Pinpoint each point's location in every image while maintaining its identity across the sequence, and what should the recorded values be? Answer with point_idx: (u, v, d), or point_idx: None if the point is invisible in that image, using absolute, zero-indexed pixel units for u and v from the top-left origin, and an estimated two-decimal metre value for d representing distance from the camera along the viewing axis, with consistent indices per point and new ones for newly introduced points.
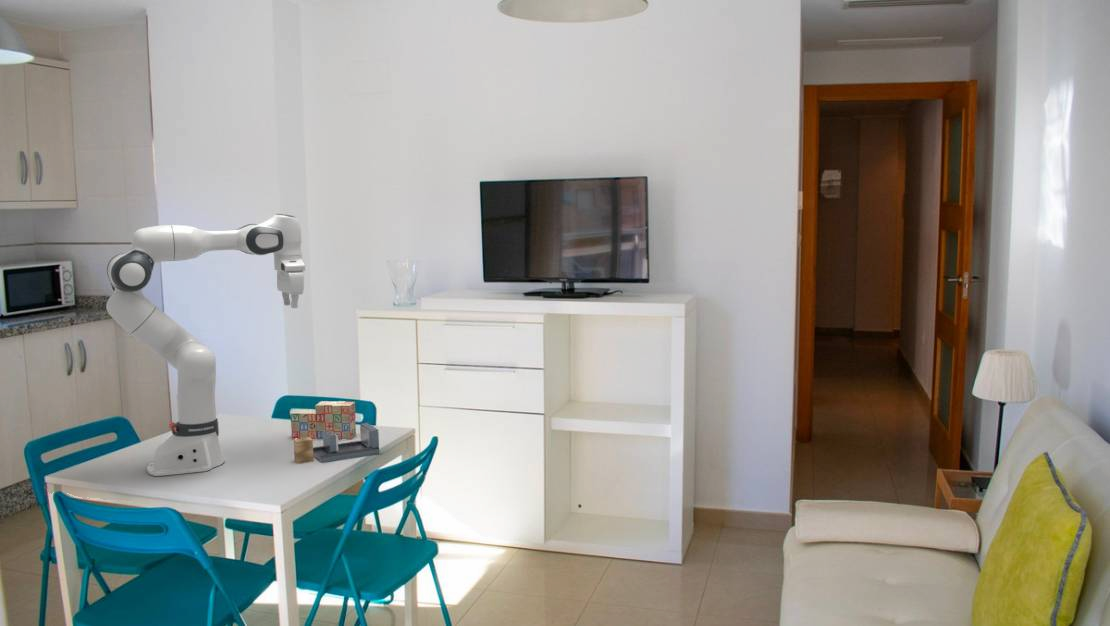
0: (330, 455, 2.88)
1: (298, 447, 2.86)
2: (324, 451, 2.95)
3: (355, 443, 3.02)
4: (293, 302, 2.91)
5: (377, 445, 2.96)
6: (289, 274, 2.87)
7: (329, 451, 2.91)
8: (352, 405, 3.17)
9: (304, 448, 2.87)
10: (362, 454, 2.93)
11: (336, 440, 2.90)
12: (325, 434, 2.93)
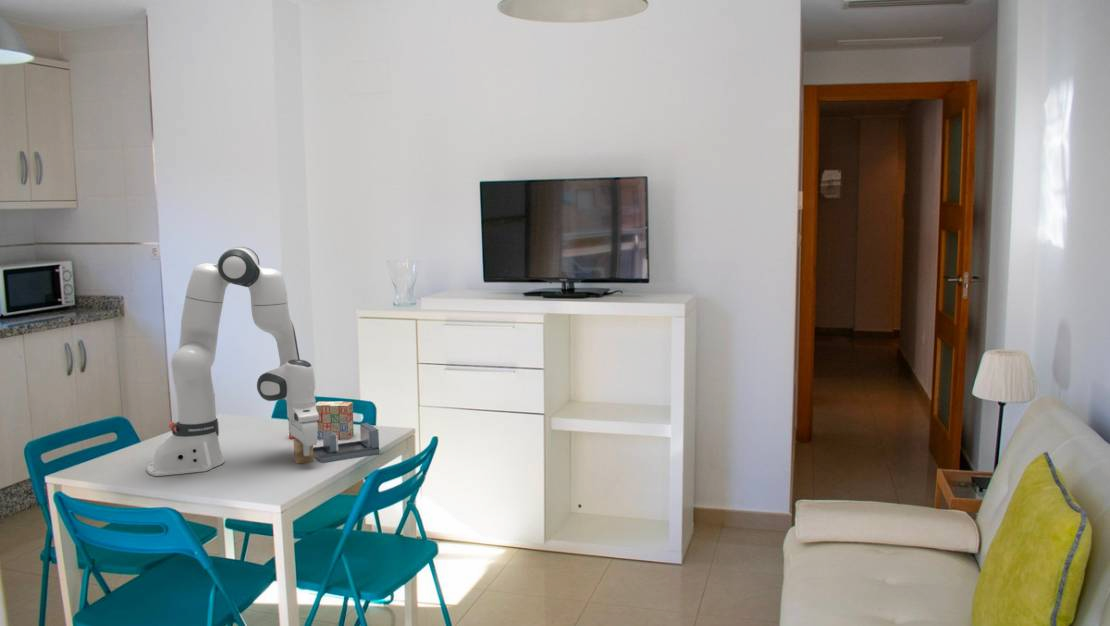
0: (330, 455, 2.88)
1: (298, 447, 2.86)
2: (324, 451, 2.95)
3: (355, 443, 3.02)
4: (305, 450, 2.86)
5: (377, 445, 2.96)
6: (303, 425, 2.79)
7: (329, 451, 2.91)
8: (350, 405, 3.17)
9: None
10: (362, 454, 2.93)
11: (336, 440, 2.90)
12: (325, 434, 2.93)
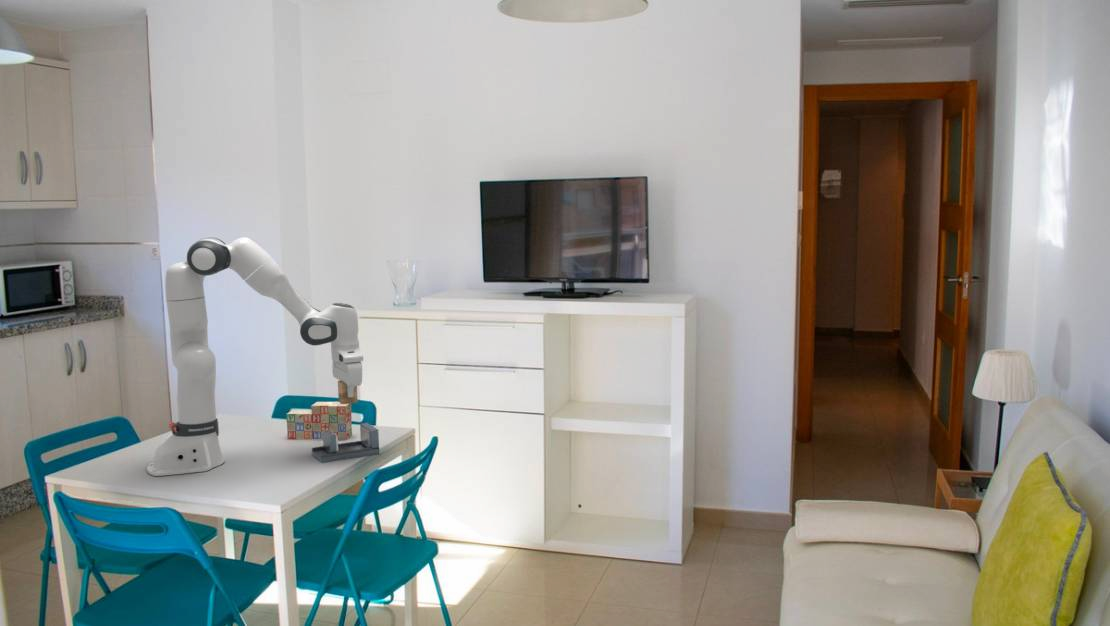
0: (330, 455, 2.88)
1: (343, 388, 2.92)
2: (324, 451, 2.95)
3: (355, 443, 3.02)
4: (349, 391, 2.91)
5: (377, 445, 2.96)
6: (348, 366, 2.85)
7: (329, 451, 2.91)
8: (348, 405, 3.16)
9: None
10: (362, 454, 2.93)
11: (336, 440, 2.90)
12: (325, 434, 2.93)
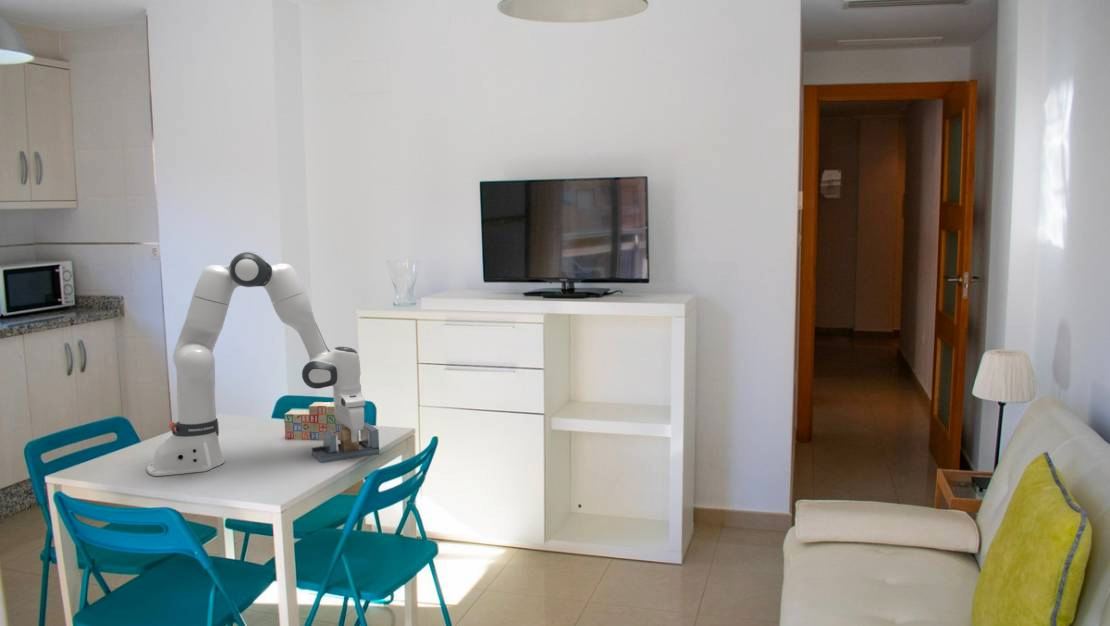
0: (330, 455, 2.88)
1: (344, 435, 2.94)
2: (324, 451, 2.95)
3: None
4: (353, 436, 2.91)
5: (377, 445, 2.96)
6: (350, 410, 2.86)
7: (329, 451, 2.91)
8: None
9: None
10: (362, 454, 2.93)
11: (336, 440, 2.90)
12: (325, 434, 2.93)
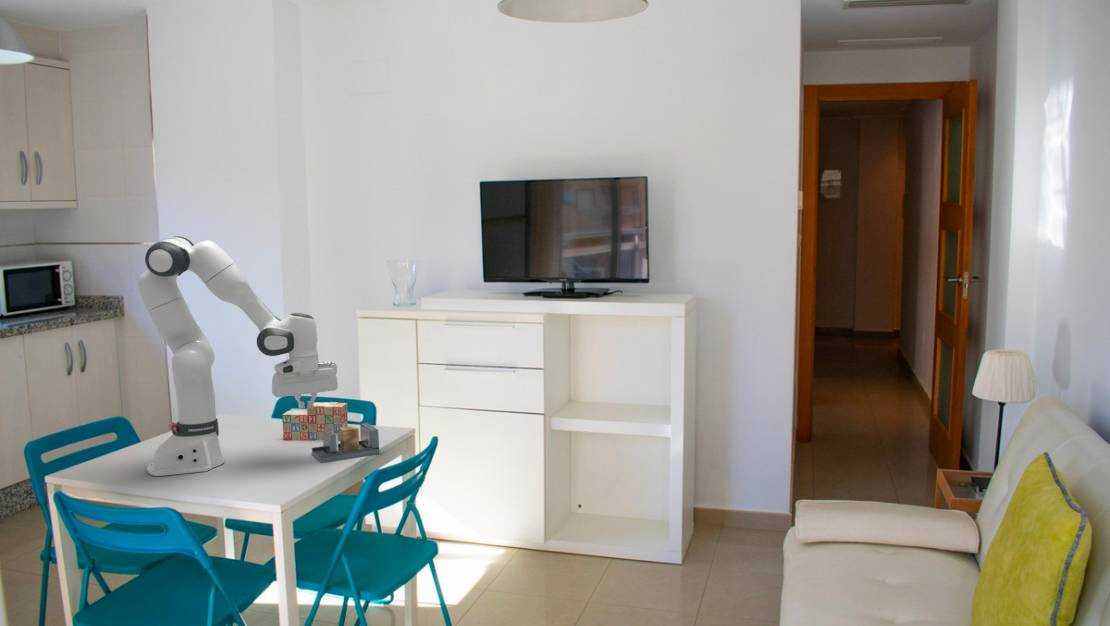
0: (330, 455, 2.88)
1: (344, 435, 2.94)
2: (324, 451, 2.95)
3: None
4: (298, 402, 2.87)
5: (377, 445, 2.96)
6: (274, 374, 2.84)
7: (329, 451, 2.91)
8: (344, 406, 3.15)
9: (350, 436, 2.95)
10: (362, 454, 2.93)
11: (336, 440, 2.90)
12: (325, 434, 2.93)
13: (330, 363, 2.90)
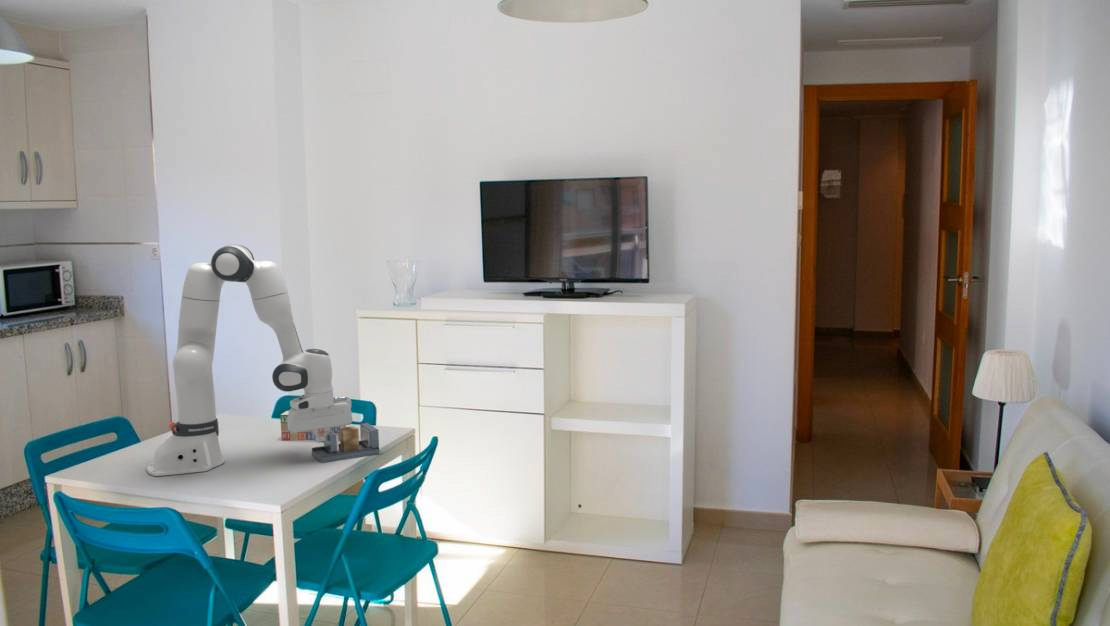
0: (330, 455, 2.88)
1: (344, 435, 2.94)
2: (324, 451, 2.95)
3: None
4: None
5: (377, 445, 2.96)
6: (289, 410, 2.88)
7: (330, 451, 2.91)
8: None
9: (350, 436, 2.95)
10: (362, 454, 2.93)
11: (336, 440, 2.90)
12: None
13: (345, 398, 2.94)
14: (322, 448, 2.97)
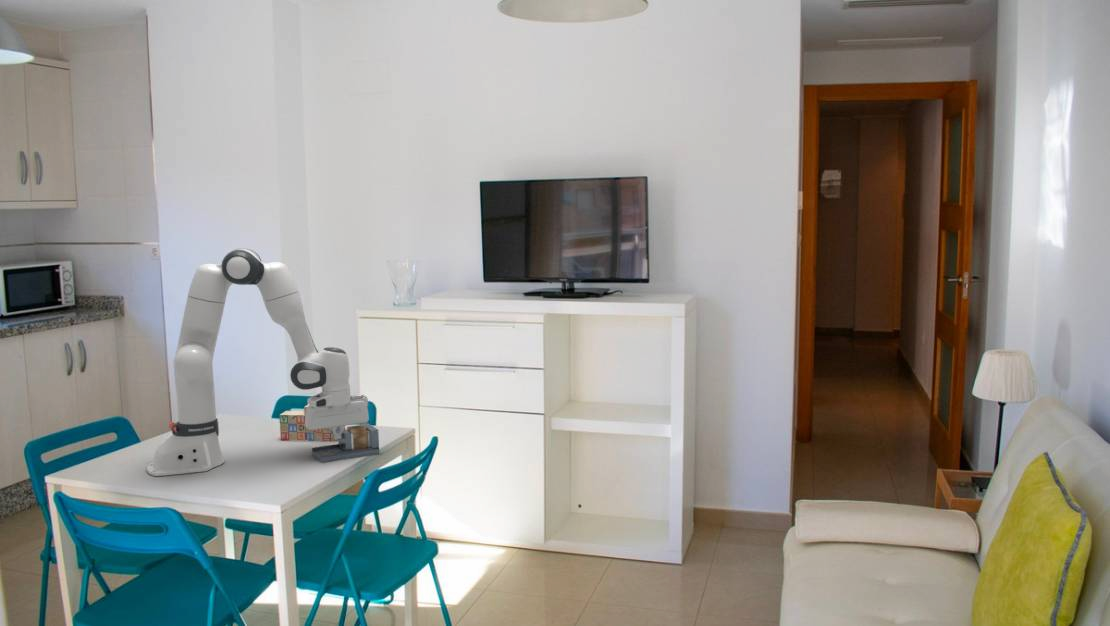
0: (330, 455, 2.88)
1: None
2: (324, 451, 2.95)
3: None
4: (334, 434, 2.94)
5: (377, 445, 2.96)
6: (307, 408, 2.90)
7: (344, 449, 2.93)
8: None
9: (358, 435, 2.96)
10: (362, 454, 2.93)
11: (351, 438, 2.93)
12: None
13: (361, 396, 2.97)
14: (322, 448, 2.97)
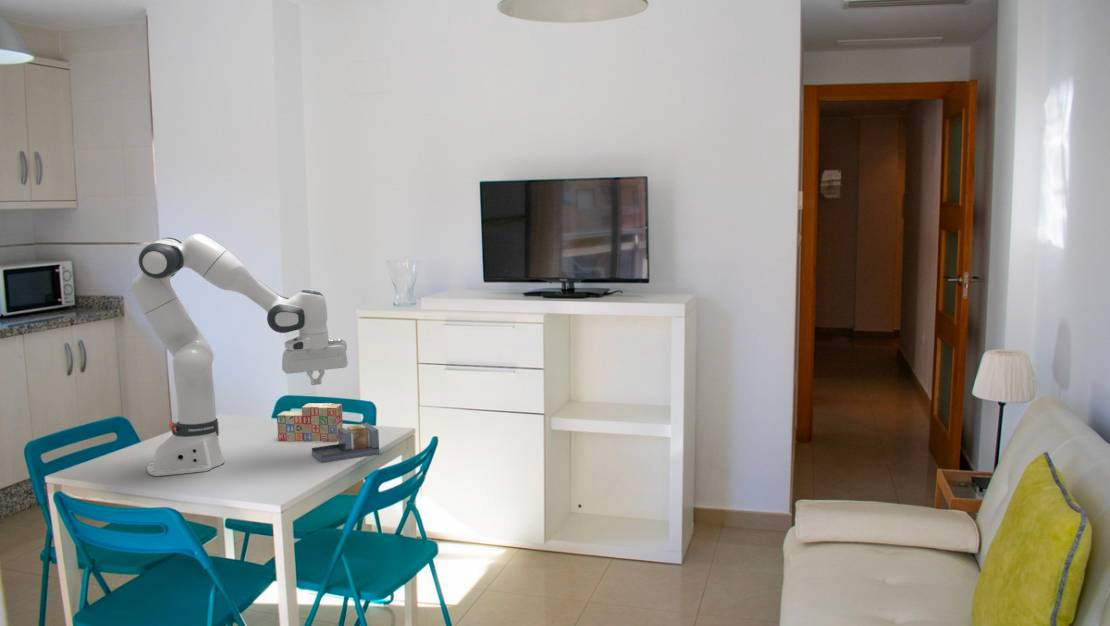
0: (330, 455, 2.88)
1: None
2: (324, 451, 2.95)
3: None
4: (310, 378, 2.89)
5: (377, 445, 2.96)
6: (284, 351, 2.85)
7: (344, 449, 2.93)
8: (339, 407, 3.14)
9: (358, 435, 2.96)
10: (362, 454, 2.93)
11: (351, 438, 2.93)
12: (340, 432, 2.96)
13: (340, 340, 2.91)
14: (322, 448, 2.97)
